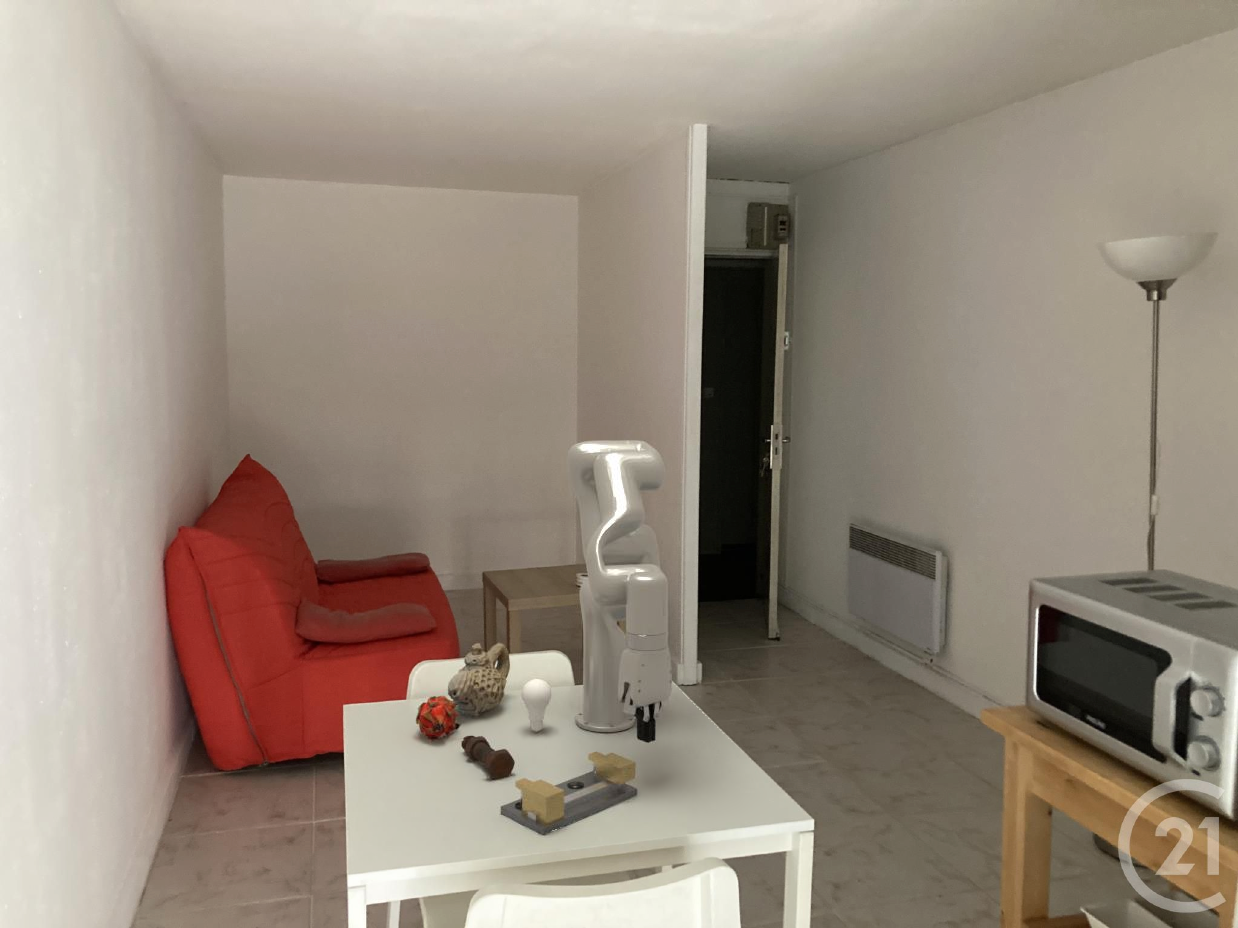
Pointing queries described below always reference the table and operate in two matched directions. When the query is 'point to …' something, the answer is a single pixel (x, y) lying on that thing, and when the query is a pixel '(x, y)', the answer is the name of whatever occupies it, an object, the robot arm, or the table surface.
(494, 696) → the teapot
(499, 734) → the table surface
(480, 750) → the bolt
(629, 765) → the block
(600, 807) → the hole plate
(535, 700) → the lightbulb
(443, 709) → the dragon fruit
